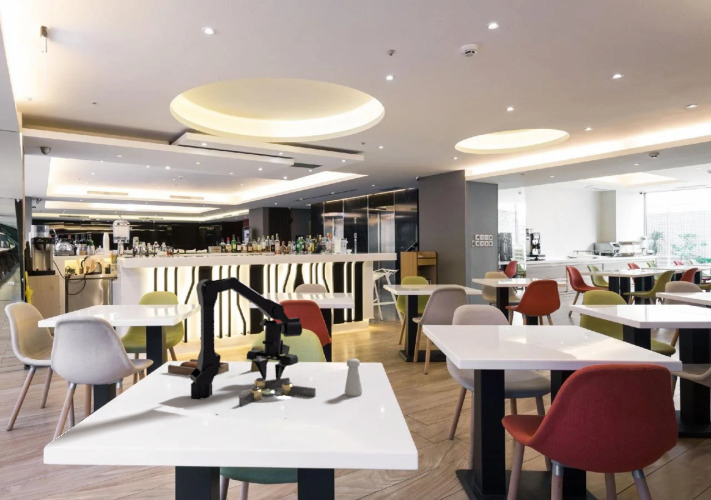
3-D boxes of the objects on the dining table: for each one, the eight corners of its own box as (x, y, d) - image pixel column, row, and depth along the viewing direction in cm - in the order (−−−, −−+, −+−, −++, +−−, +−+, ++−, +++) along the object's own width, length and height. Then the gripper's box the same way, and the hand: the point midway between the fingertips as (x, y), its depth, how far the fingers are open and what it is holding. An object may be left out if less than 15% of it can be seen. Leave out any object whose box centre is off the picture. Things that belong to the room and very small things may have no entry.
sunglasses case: (226, 370, 192) (220, 358, 189) (216, 382, 186) (210, 370, 183) (193, 366, 199) (187, 354, 196) (183, 378, 194) (176, 366, 191)
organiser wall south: (209, 377, 181) (209, 369, 181) (207, 377, 181) (207, 369, 181) (228, 371, 191) (228, 363, 191) (226, 370, 191) (226, 363, 191)
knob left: (256, 391, 156) (256, 380, 156) (253, 388, 159) (253, 378, 159) (290, 386, 161) (290, 376, 161) (287, 384, 164) (287, 373, 165)
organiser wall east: (226, 370, 191) (226, 363, 191) (190, 366, 200) (190, 359, 200) (228, 370, 192) (228, 362, 192) (192, 365, 201) (192, 358, 201)
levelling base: (266, 415, 136) (266, 398, 136) (216, 407, 144) (216, 390, 144) (307, 393, 157) (306, 378, 158) (261, 387, 165) (261, 373, 166)
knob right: (279, 393, 153) (279, 383, 153) (285, 390, 156) (285, 380, 156) (311, 398, 147) (311, 387, 147) (317, 395, 151) (317, 384, 151)
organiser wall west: (205, 377, 180) (205, 370, 180) (167, 372, 188) (167, 365, 188) (207, 377, 181) (207, 369, 181) (170, 372, 190) (170, 364, 190)
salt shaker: (360, 401, 148) (360, 361, 149) (343, 400, 149) (342, 360, 150) (363, 396, 154) (363, 357, 154) (347, 395, 155) (346, 357, 155)
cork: (267, 371, 189) (267, 345, 189) (262, 375, 183) (262, 347, 183) (253, 371, 190) (252, 344, 190) (248, 375, 184) (248, 347, 184)
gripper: (306, 337, 168) (305, 379, 168) (264, 332, 176) (263, 372, 175) (290, 341, 158) (288, 387, 158) (246, 336, 166) (244, 379, 165)
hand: (271, 381), depth 164 cm, fingers open, 5 cm apart
